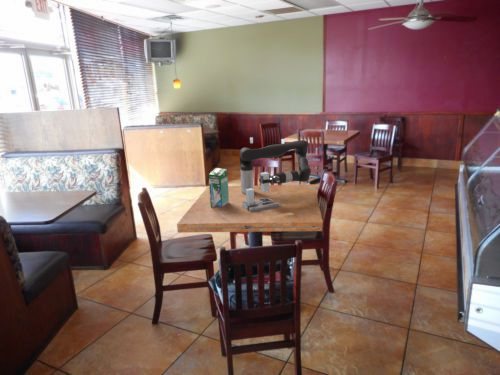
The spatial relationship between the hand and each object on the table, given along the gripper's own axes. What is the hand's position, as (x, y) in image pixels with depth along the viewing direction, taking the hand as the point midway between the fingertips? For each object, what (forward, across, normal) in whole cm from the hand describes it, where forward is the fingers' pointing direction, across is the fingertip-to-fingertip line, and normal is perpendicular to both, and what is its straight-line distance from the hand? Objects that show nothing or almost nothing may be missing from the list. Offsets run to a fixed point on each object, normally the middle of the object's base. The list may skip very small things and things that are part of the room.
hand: (261, 181), depth 231 cm
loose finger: (-3, 0, +7) cm, 8 cm away
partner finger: (+8, 0, +16) cm, 18 cm away
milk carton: (+23, -16, +18) cm, 33 cm away
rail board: (+1, +2, +18) cm, 18 cm away
